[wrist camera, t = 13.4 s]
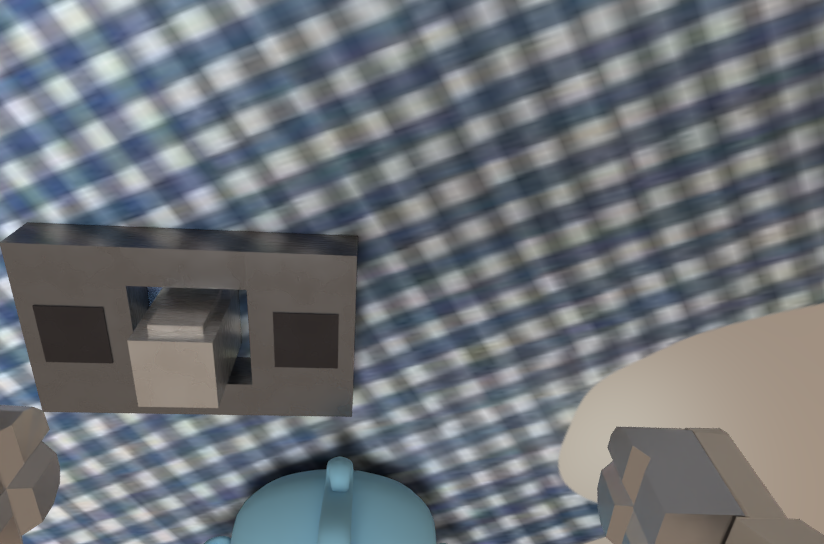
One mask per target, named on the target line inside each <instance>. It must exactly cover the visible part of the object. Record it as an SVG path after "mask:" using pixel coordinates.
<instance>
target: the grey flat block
mask: <svg viewBox="0 0 824 544" xmlns="http://www.w3.org/2000/svg"><path fill="white" fill-rule="evenodd" d="M0 246H1V250H2V254H3V258H4V262H5V266H6V270H7V274H8V277H9V281H10V285H11V289H12V293H13V297H14V301H15V305H16V309H17V313H18V316H19V320H20V324H21V328H22V332H23V336H24V340H25V344H26V348H27V352H28V355H29V359H30V363H31V367H32V371H33V375H34V379H35V383H36V387H37V391H38V395H39V398H40V402H41V406H42V410H43V412H91V413H154V414H216V415H279V416H341V417H352V404H353V380H354V348H355V316H356V284H357V252H358V236H343V235H318V234H293V233H268V232H244V231H219V230H194V229H170V228H145V227H120V226H95V225H71V224H46V223H26V224H25V225H23V226H22V227H20V228H19V229H18V230H16V231H15V232H14V233H12V234H11V235H9V236H8V237H7V238H5V239H4V240H3V241H1V242H0ZM146 287H175V288H205V289H236V290H247V304H248V320H249V337H250V353H251V358H236V360H235V363H234V366H233V369H232V371H231V374H230V377H229V380H228V383H227V385H226V388H225V391H224V394H223V397H222V399H221V402H220V405H219V408H185V407H138V402H137V396H136V390H135V384H134V378H133V372H132V366H131V360H130V354H129V348H128V342H127V340H128V339H129V337H130V336H131V334H132V333H133V331H134V330H135V328H136V327H137V325H138V324H139V322H140V321H141V319H142V318H143V316H144V315H145V313H146V312H147V310H148V309H149V302H148V295H147V288H146Z"/></svg>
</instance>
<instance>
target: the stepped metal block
mask: <svg viewBox="0 0 824 544" xmlns="http://www.w3.org/2000/svg"><path fill="white" fill-rule="evenodd" d="M127 342H128V348H129V354H130V360H131V366H132V372H133V378H134V384H135V390H136V396H137V402H138V407H185V408H219V405H220V402H221V399H222V397H223V394H224V391H225V388H226V385H227V383H228V380H229V377H230V374H231V371H232V369H233V366H234V363H235V360H236V357H237V354H238V352H239V349H240V346H241V343H242V335H241V320H240V305H239V290H236V289H205V288H175V287H163V288H162V289H161V291H160V292H159V294H158V295H157V297H156V298H155V300H154V301H153V303H152V304H151V306H150V307H149V309H148V310H147V312H146V313H145V315H144V316H143V318H142V319H141V321H140V322H139V324H138V325H137V327H136V328H135V330H134V331H133V333H132V334H131V336H130V337H129V339H128V340H127Z"/></svg>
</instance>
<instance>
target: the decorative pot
mask: <svg viewBox="0 0 824 544" xmlns="http://www.w3.org/2000/svg"><path fill="white" fill-rule="evenodd" d="M204 544H436V532H435V524H434V520H433V517H432V515H431V513H430V510H429V508H428V507H427V506H426V504H425V503H424V502H423V501H422V500H421V499H420V498H419V497H418V496H417V495H416V494H415V493H414V492H413V491H412V490H411V489H409V488H408V487H406V486H405V485H403V484H401V483H400V482H398V481H395V480H393V479H390V478H388V477H384V476H380V475H377V474H373V473H368V472H363V471H357V470H353V463H352V461H351V460H349V459H347V458H345V457H341V456H339V457H335V458H332V459H331V460H329V461H328V464H327V469H321V470H312V471H305V472H299V473H294V474H290V475H287V476H283V477H280V478H278V479H276V480H273V481H271V482H270V483H268V484H266V485H265V486H263V487H262V488H261V489H259V490H258V491H257V492H255V493H254V494H253V495H252V496H250V498H249V499H248V500H247V501H246V502H245V503H244V504H243V506H242V508H241V509H240V511H239V513H238V514H237V516H236V520H235V524H234V527H233V532H232V537H231V538H229V537H226V536H218V537H214V538H211V539H209V540H208V541H206V542H205V543H204ZM440 544H446V543H440Z"/></svg>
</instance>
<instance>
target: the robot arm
mask: <svg viewBox="0 0 824 544" xmlns="http://www.w3.org/2000/svg"><path fill="white" fill-rule="evenodd" d="M48 431H49V426H48V423H47V420H46V417H45V414H44V412H43V411H42V410H40V409H37V408H35V407H27V406H9V405H0V544H23V540H22V535H23V534H25V533H26V532H28V531H29V530H31V529H33V528H34V527H36V526H37V525H39V524H40V523H42V522H43V520H44V519H45V517H46V515H47V514H48V512H49V510H50V509H51V507H52V506H53V504H54V501H55V497H56V494H57V491H58V487H59V484H60V466H59V462H58V458H57V454H56V453H55V452H54V451H53V450H52V449H51V448H49V447H48V446H47V445H46V444H45V443H44V442H42V440H43V438H44V437H45V435H46V434H47V432H48ZM608 450H609V452H610V454H611V457H612V459H613V461H612V462H611V463H610V464H609V465H607V466H606V467H605V468H604V469H602V471H601V475H600V479H599V483H598V488H597V490H598V511H599V516H600V522H601V525H602V527H603V530H604V533H605V536H606V538H608V539H609V540H610V541H611V542H612V543H613V544H824V535H823V534H821V533H820V532H818V531H817V530H815V529H814V528H812V527H811V526H809V525H808V524H806V523H805V522H803V521H801V520H800V519H788V518H787V516H786V515H785V514H784V512H783V511H782V509H781V508H780V507H779V505H778V504H777V502H776V501H775V500H774V498H773V497H772V495H771V494H770V492H769V491H768V489H767V488H766V487H765V485H764V484H763V482H762V481H761V480H760V478H759V477H758V475H757V474H756V472H755V471H754V470H753V468H752V467H751V465H750V464H749V463H748V461H747V460H746V458H745V457H744V455H743V454H742V453H741V451H740V450H739V448H738V447H737V446H736V444H735V443H734V441H733V440H732V439H731V437H730V436H729V434H727V433H726V432H725V431H723V430H722V429H720V428H685V429H681V428H679V429H678V428H643V427H616V428H615V430H614V431H613V433H612V434H611V437H610V441H609V445H608Z"/></svg>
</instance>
